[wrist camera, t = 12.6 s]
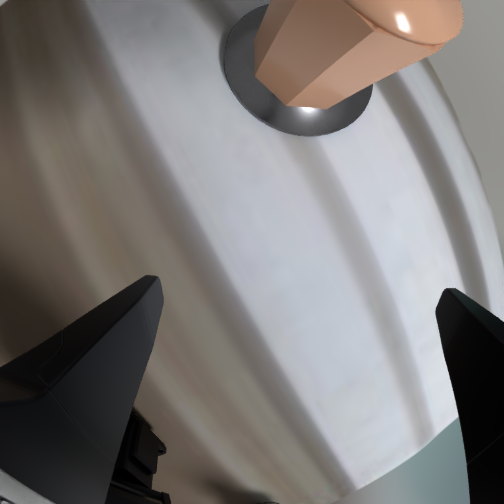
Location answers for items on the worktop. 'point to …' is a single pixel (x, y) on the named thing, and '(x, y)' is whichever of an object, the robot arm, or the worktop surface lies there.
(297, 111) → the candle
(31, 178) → the worktop surface
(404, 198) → the worktop surface
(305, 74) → the tan rounded cylinder
